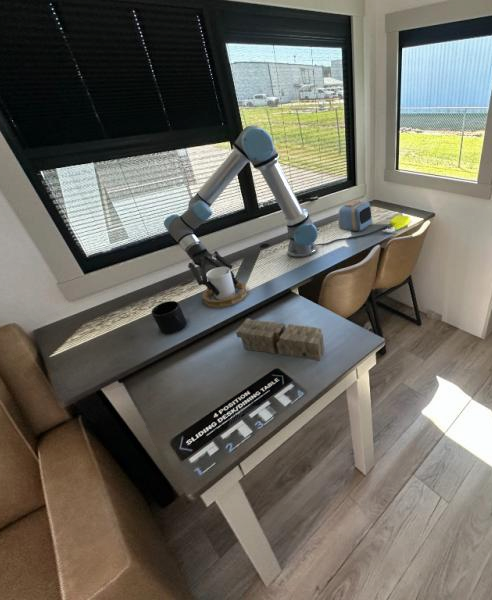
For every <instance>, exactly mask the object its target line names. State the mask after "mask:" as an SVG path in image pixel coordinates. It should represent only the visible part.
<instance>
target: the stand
mask: <svg viewBox="0 0 492 600" xmlns="http://www.w3.org/2000/svg"><path fill="white" fill-rule="evenodd" d="M236 280H237V281H238V283H237V285H234V288H239V289H240V290H239V291H238V293H236V294H235V295H234V296H232V297H230V298H226V299H222V300H217V299H211V298H210V296H212V295H214V292H213V291H212V290H209V289H208V288H207V287H206V288H205V290H204V291H202V300H203V303H204V305H206V306H208V307H209V308H214V309H215V308H216V309H217V308H218V309H223V308H227V307H230V306H233V305H236V304H237V303H239V302H241V301H243V300H244V298H245V297H246V296H247V295H248V291H247V290H248V289H247V286H246V282H245V281H242V280H240V279H236ZM233 284H234V283H233Z"/></svg>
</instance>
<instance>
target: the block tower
mask: <svg viewBox="0 0 492 600" xmlns="http://www.w3.org/2000/svg"><path fill="white" fill-rule="evenodd" d="M235 335H236V337H237V338H238V339H241V342H242V345H243V349H244V350H248V351H254V352H261V353H263V352H264V353H269V354H274V355H275V354H276V353H277V352H278V354H279V355H282V356H288V357H295V358H301V359H303V358H304V357H305V355H306V359H307V360H315V361H321V359H322V356H323V355H324V352H325V343H324V335H323V333H322V328H321V327H314V326H308V325H297V324H292V323H288V324H287V326H286V323H285V322H277V321H269V320H261V319H259V320H257V319H251V318H248V317H247V318H246V319H245V320H244V321H243V323H241V325H240V326H239V327H238V328H237V329H236V331H235Z"/></svg>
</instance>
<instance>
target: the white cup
mask: <svg viewBox="0 0 492 600" xmlns="http://www.w3.org/2000/svg"><path fill="white" fill-rule="evenodd" d="M227 271H228V273H227ZM231 271H232V270H231ZM231 271H230V268H228V267H214V268H212V269H210V270H208V271H207V272H206V277H207V281H210V282H211V283H212V284H213V285H214V286H215V288H216V289H217V290H218V291H219V292H220V293H219V295H218V296H216V295H215V293H213V295H214V296H215V299H216V300H222V299H226V298H230V297H232V296H234V295H236V294H237V291H236V287H234V284H233V280H232V276H231Z"/></svg>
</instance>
